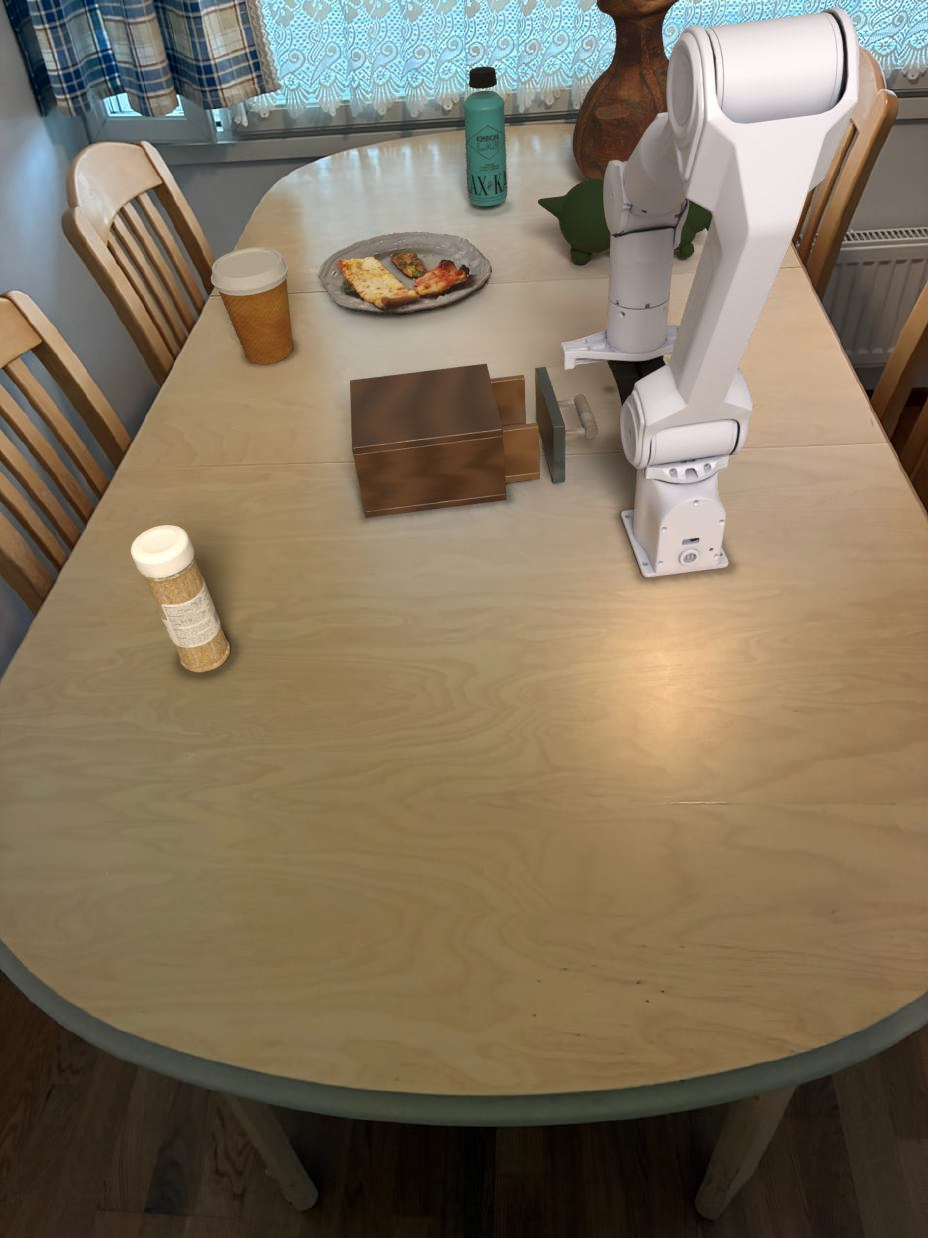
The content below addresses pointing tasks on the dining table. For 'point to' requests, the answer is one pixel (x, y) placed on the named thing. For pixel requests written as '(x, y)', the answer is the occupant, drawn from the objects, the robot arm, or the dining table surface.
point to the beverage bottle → (485, 140)
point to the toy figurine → (588, 222)
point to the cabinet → (427, 440)
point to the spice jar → (181, 596)
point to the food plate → (404, 272)
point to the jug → (624, 87)
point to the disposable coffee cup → (256, 301)
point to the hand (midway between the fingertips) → (630, 418)
